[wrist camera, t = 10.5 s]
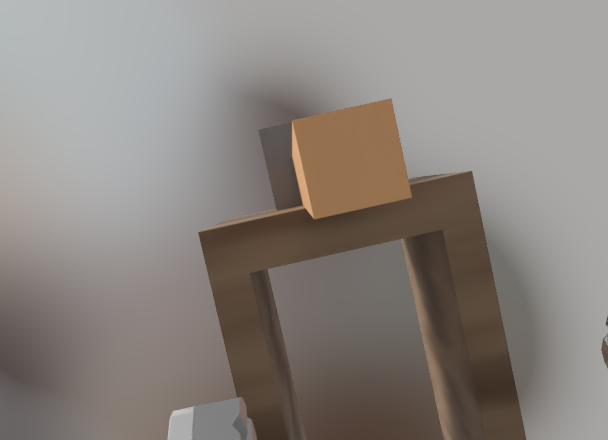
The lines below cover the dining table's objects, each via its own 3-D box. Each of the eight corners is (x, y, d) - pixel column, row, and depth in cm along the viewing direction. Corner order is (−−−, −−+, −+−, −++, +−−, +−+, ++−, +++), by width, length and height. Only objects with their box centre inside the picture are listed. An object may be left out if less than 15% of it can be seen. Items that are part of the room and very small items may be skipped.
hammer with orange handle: (465, 185, 13) (431, 19, 12) (260, 231, 12) (223, 65, 12) (365, 188, 29) (350, 118, 29) (278, 208, 29) (263, 138, 29)
